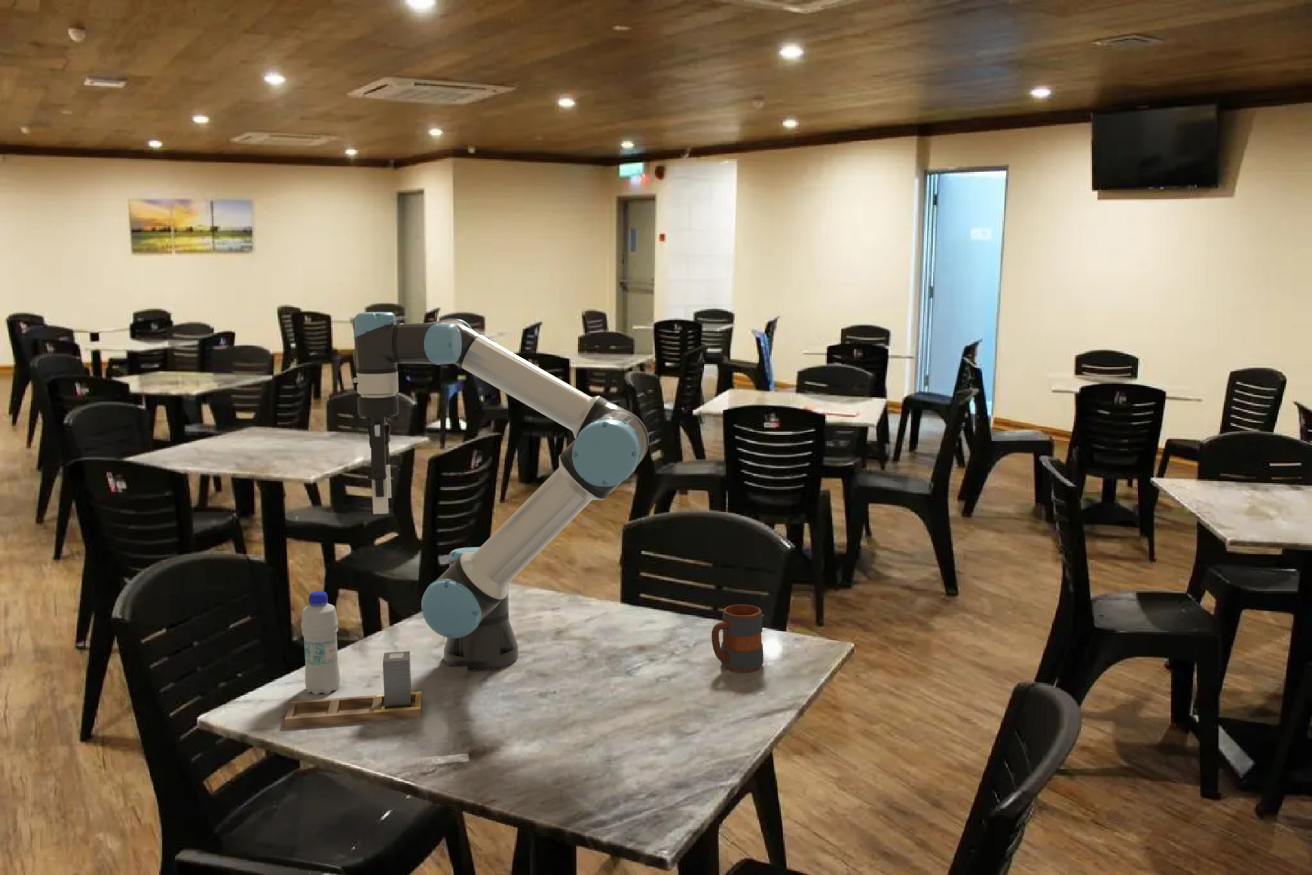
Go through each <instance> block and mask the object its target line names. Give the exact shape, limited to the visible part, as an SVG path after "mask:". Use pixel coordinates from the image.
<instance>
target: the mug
mask: <svg viewBox="0 0 1312 875" xmlns="http://www.w3.org/2000/svg"><path fill="white" fill-rule="evenodd" d="M763 630H764V629H763V611H762V609H761V608H760V607H758V606H755V605H751V604H733V605H728V606H726V607H725V608H724V609H723V611H722V621H720V622H718V623H716V624H714V626H713V627H712V630H711V644H712V650H713V651H714V654H715V657H716V658H717V660H719V661H720V663H721V664H722V667H723V668H724V669H725V670H727V671H730V672H734V673H741V674H742V673H752V672H756V671H758V670H759V669H760V668H762V665H763V664H764V646H763V642H762V640H763V639H762V633H763ZM720 631H722V642H720Z"/></svg>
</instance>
